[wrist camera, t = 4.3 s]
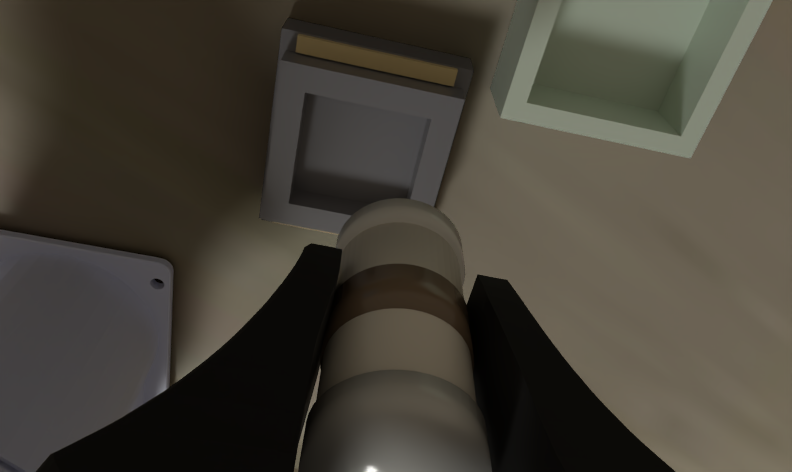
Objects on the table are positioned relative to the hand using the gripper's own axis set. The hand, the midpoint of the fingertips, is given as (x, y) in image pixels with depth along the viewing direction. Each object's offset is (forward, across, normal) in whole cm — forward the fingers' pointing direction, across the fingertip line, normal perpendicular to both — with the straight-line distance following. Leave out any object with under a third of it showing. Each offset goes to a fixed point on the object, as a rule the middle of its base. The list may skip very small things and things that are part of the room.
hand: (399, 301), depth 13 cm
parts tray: (+10, -6, -5) cm, 13 cm away
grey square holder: (+10, +1, +1) cm, 10 cm away
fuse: (+2, 0, 0) cm, 2 cm away
